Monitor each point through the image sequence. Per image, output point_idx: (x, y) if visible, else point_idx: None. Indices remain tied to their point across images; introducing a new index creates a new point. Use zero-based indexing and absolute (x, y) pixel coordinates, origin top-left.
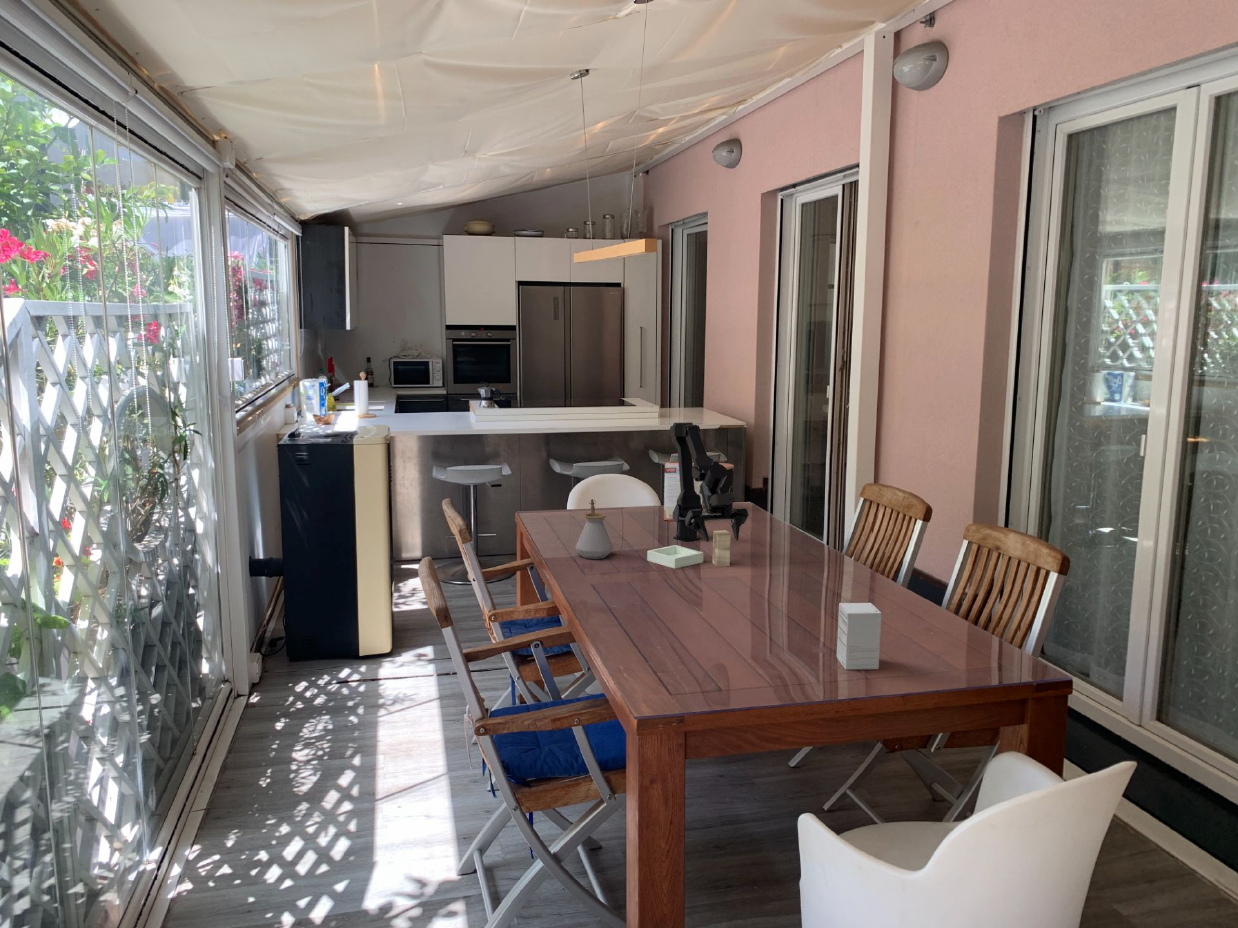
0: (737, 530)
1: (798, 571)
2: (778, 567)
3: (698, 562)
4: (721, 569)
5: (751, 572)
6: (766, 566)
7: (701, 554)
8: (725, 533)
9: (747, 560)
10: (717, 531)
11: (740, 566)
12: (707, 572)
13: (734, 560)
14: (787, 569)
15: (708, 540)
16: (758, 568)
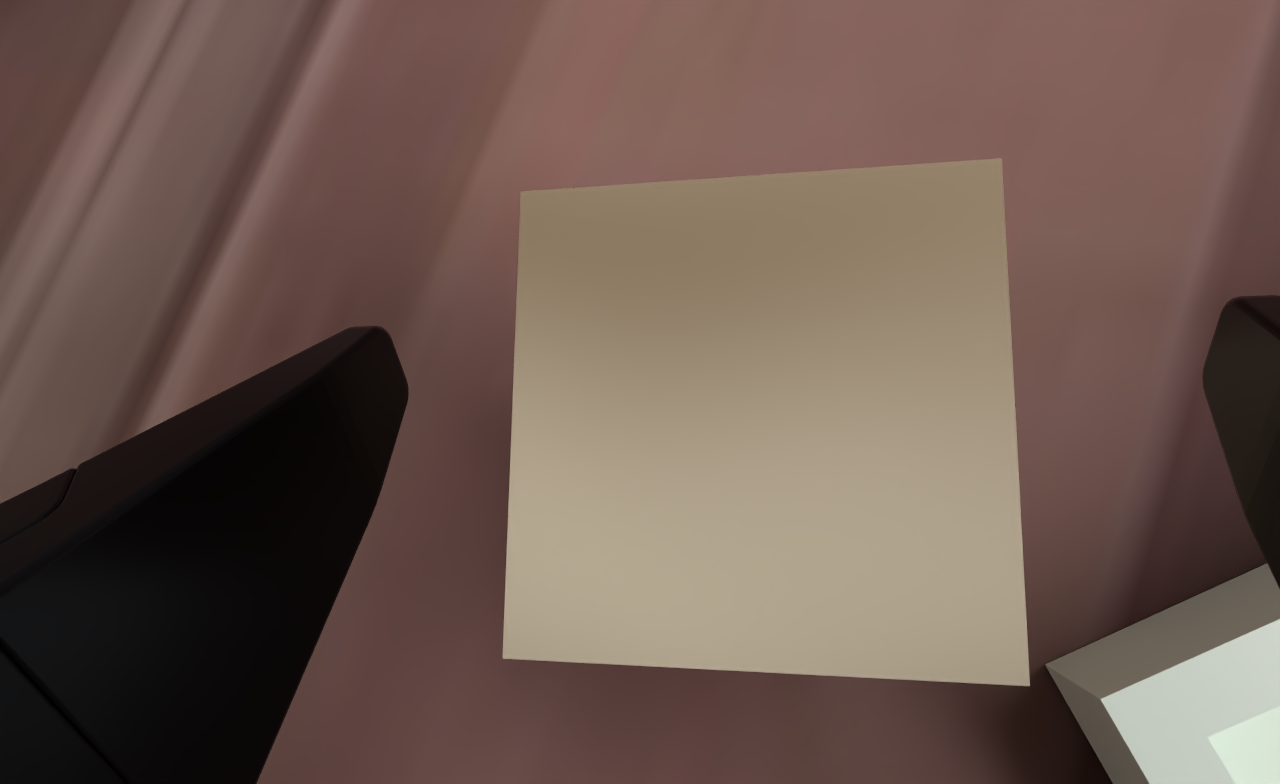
0: (187, 432)
1: (25, 36)
2: (134, 215)
3: (1156, 618)
4: None
5: (526, 32)
6: (238, 277)
7: (1141, 670)
8: (701, 180)
9: (332, 615)
10: (890, 536)
11: None
12: (1145, 74)
13: (505, 659)
14: (86, 122)
15: (1251, 298)
16: (368, 200)
